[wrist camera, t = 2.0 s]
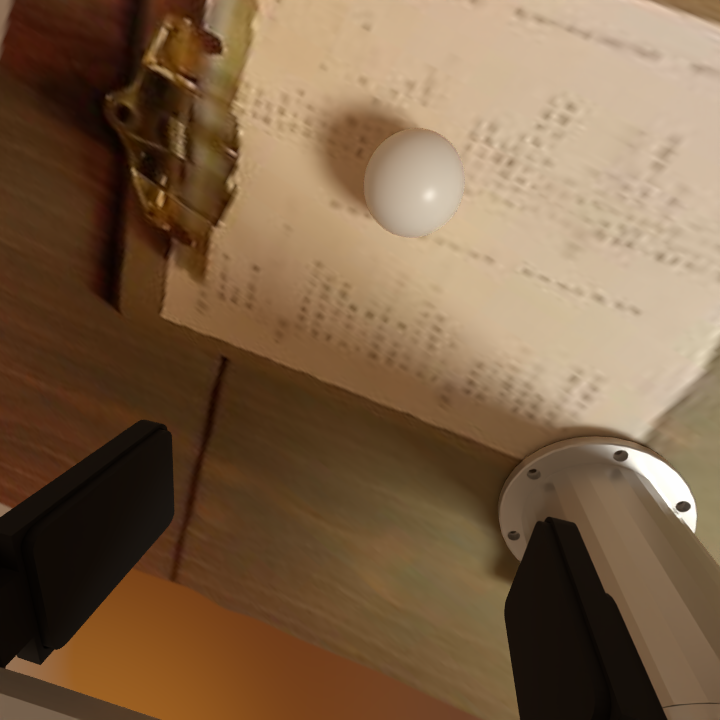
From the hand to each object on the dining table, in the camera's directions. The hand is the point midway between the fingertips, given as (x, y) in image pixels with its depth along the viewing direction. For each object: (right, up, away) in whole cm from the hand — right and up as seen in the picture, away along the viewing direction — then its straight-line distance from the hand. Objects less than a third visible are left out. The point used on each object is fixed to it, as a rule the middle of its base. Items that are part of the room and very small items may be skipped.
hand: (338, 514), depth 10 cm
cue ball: (+3, +13, +12) cm, 19 cm away
